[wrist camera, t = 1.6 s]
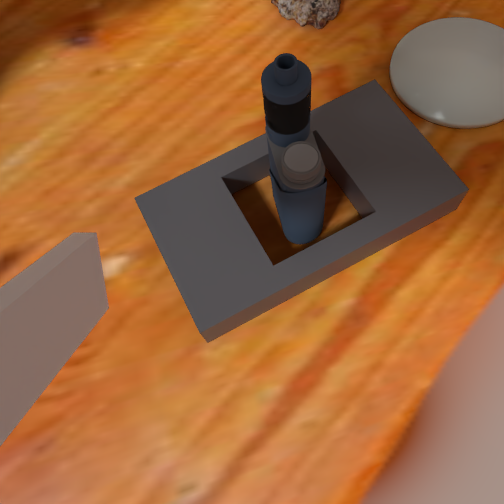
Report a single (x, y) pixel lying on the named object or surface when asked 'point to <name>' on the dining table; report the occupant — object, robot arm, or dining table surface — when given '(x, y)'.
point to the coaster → (452, 72)
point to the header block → (325, 251)
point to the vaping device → (293, 149)
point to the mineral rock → (308, 11)
